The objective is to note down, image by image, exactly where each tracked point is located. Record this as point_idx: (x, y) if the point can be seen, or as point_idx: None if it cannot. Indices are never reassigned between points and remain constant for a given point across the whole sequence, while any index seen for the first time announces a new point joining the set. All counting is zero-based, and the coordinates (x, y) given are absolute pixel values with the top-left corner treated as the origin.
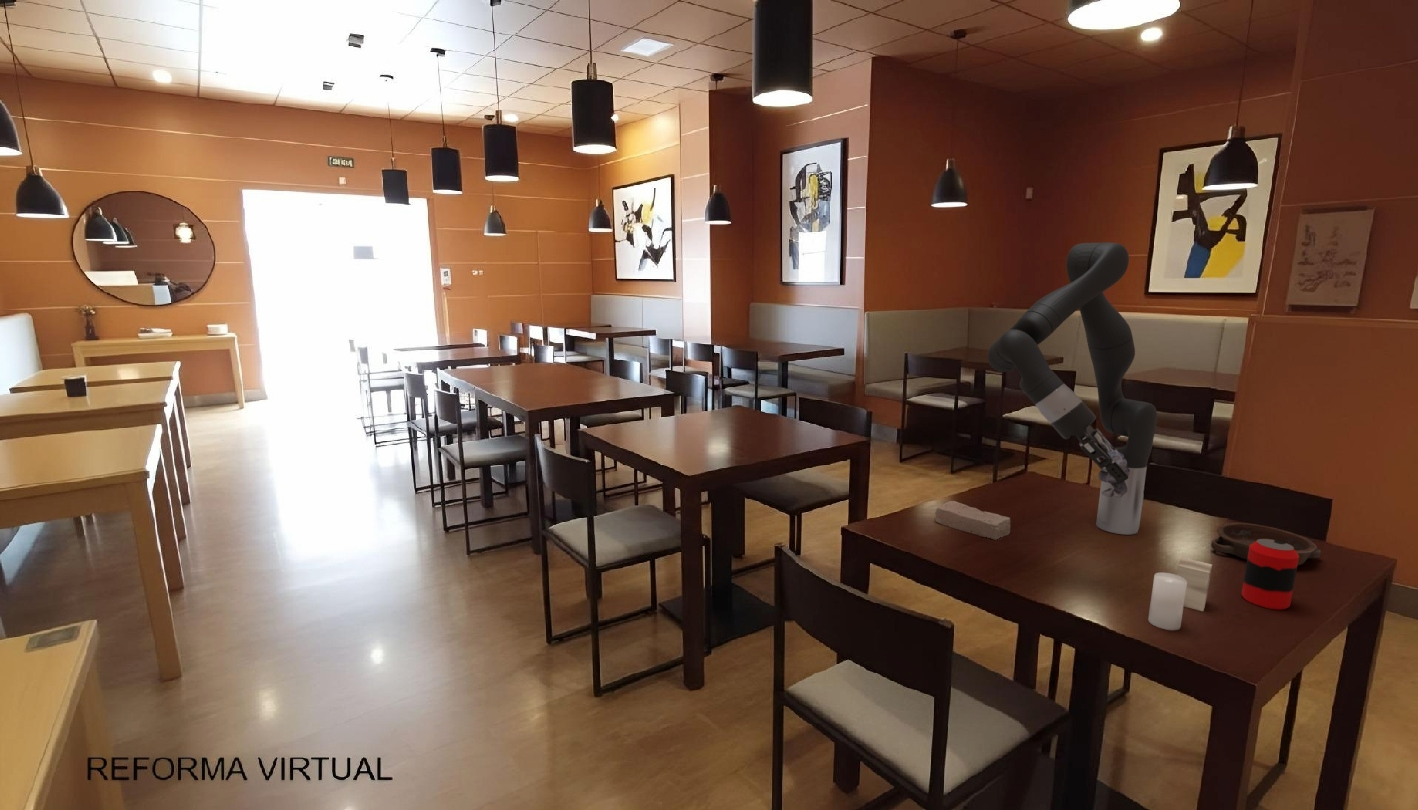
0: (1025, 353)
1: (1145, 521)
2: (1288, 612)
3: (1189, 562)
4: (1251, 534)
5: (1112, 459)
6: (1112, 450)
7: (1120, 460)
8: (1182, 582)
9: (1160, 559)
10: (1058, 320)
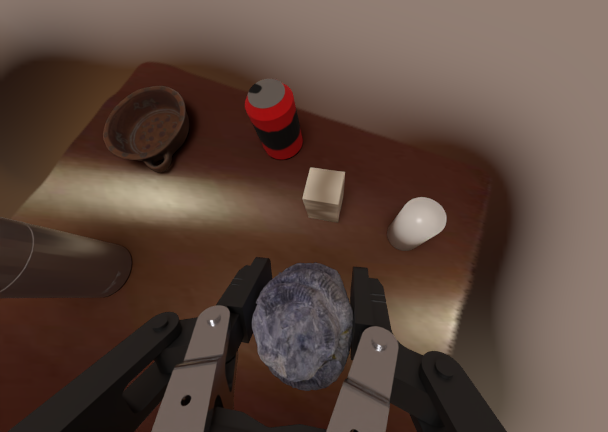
0: None
1: (76, 233)
2: (302, 130)
3: (317, 190)
4: (121, 133)
5: (396, 351)
6: (219, 340)
7: (326, 300)
8: (430, 203)
9: (205, 225)
10: None
